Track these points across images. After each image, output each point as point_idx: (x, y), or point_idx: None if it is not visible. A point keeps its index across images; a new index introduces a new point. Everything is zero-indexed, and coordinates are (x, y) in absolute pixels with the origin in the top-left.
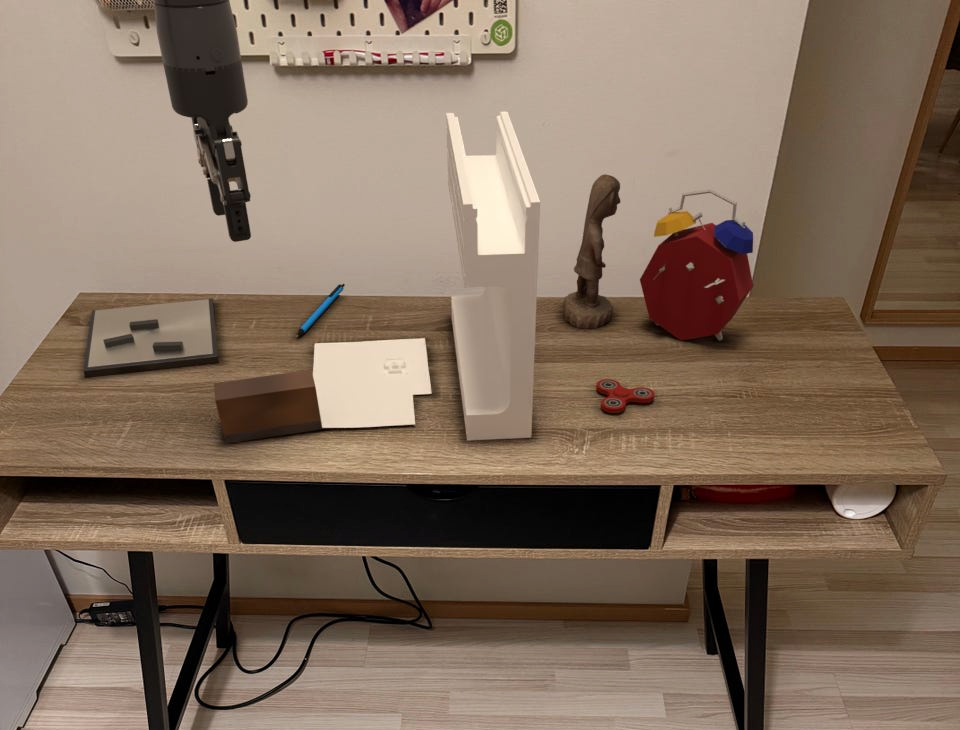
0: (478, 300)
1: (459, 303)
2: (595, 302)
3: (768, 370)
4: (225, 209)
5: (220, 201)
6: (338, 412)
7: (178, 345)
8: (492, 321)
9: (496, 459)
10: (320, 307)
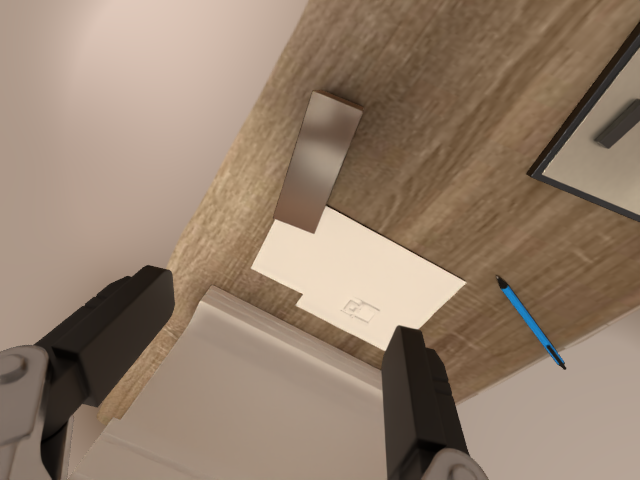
0: None
1: None
2: None
3: None
4: (65, 335)
5: (394, 374)
6: None
7: (602, 138)
8: (328, 398)
9: (177, 284)
10: (533, 326)
